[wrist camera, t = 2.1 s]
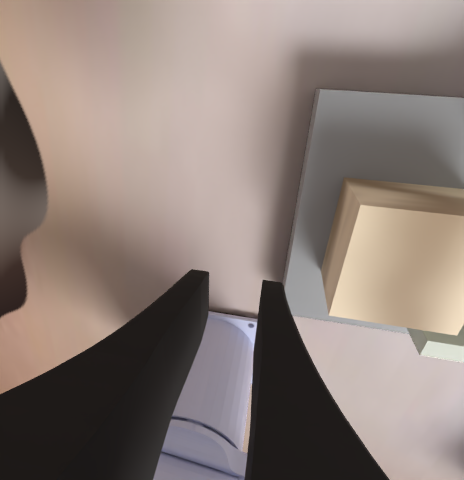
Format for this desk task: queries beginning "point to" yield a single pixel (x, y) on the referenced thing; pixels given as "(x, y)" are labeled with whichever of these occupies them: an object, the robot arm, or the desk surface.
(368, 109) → the tunnel deck
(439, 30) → the desk surface
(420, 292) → the maple block
